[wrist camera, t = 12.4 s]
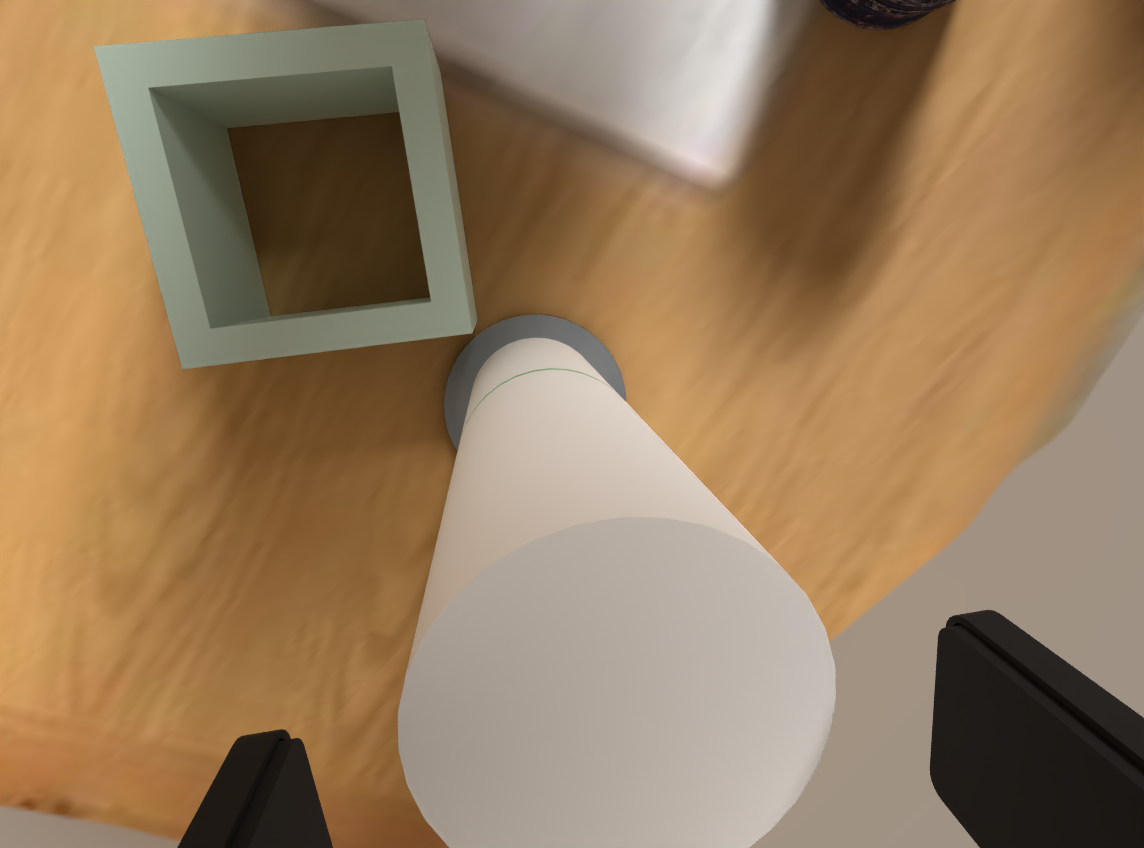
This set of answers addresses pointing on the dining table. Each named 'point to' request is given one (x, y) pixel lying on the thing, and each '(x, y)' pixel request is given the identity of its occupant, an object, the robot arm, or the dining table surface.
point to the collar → (213, 193)
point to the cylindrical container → (601, 636)
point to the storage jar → (882, 11)
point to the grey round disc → (510, 332)
